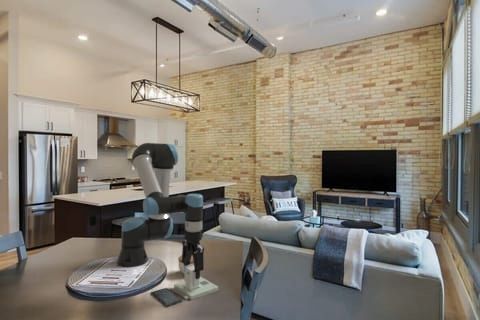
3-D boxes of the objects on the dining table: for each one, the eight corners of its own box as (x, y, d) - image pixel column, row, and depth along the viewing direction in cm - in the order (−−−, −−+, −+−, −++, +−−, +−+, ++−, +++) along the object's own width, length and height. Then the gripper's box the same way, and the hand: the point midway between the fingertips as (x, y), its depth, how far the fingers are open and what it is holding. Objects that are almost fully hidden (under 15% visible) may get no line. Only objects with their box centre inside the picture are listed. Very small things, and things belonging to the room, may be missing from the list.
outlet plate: (174, 287, 130) (174, 284, 130) (200, 279, 139) (200, 276, 139) (191, 300, 119) (191, 296, 119) (218, 290, 129) (218, 286, 129)
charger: (184, 290, 127) (186, 267, 127) (192, 287, 130) (194, 265, 130) (189, 293, 125) (191, 270, 124) (197, 291, 127) (199, 268, 127)
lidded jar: (178, 278, 140) (179, 258, 140) (177, 269, 150) (177, 251, 150) (201, 276, 143) (201, 257, 143) (198, 268, 153) (198, 250, 153)
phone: (150, 295, 123) (150, 292, 123) (165, 290, 128) (166, 287, 128) (166, 308, 113) (166, 305, 113) (182, 303, 118) (182, 300, 118)
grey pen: (167, 289, 128) (167, 287, 128) (169, 288, 129) (169, 286, 129) (186, 299, 119) (186, 297, 119) (188, 298, 120) (188, 296, 120)
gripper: (174, 226, 132) (172, 277, 132) (198, 236, 117) (196, 293, 118) (188, 224, 137) (187, 273, 137) (213, 233, 123) (211, 288, 123)
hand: (191, 282), depth 127 cm, fingers open, 6 cm apart
